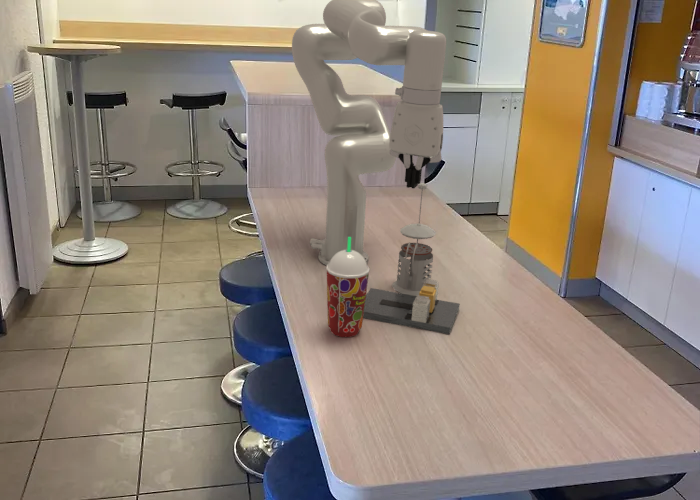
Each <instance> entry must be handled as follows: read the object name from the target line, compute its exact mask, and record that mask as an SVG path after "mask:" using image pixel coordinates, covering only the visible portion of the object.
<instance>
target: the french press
mask: <svg viewBox="0 0 700 500" xmlns="http://www.w3.org/2000/svg"><path fill="white" fill-rule="evenodd" d="M427 187H428V186H427V184H426V183H425V182H420V184H418V185H417V188H418V189H420V190H421V193H420V204H419V215H418V216H419V217H418V223H411V224H407V225H405V226H403V227H401V228H400V230H399V231H400V234H401V235H402V236H405V237H406V238H409V239H414V240H416V242H407V243H403V244H402V245H401V246H400V249H401V250H400V251H399V253H398V265H397V275H396V280H395V281H394V282H392V284H391V287H392V288H393V290H394V291H395V292H396V293H402V294H408V295H413V296H417V295H419V293H420V291H421V289H422V286H423V284H424V282H425V281H426V279H432V273H433V270H431V269H432V268H433V264H431V263H433V262H434V254H433V253H432V252H433V247H431V246H430V245H429V244H426V243H422V242H419V240H427V239H431V238H433V237H434V236H436V235H437V231H436V230H435V229H433V228H432V227H430V226H429V225H427V224H423V223H420V222H421V212H422V199H423V190H426V189H427ZM408 258H409V259H408ZM426 271H427V272H426ZM426 276H427V277H426Z"/></svg>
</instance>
